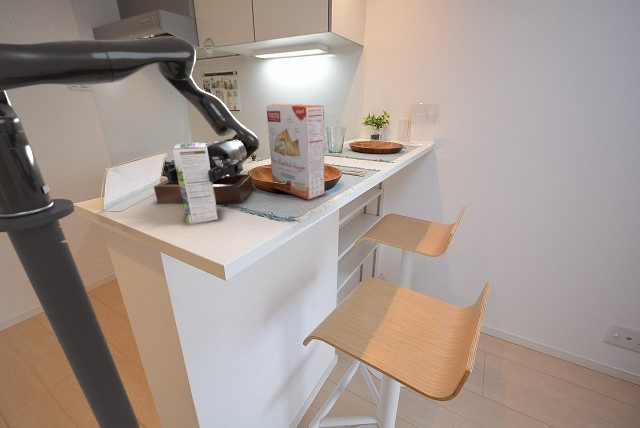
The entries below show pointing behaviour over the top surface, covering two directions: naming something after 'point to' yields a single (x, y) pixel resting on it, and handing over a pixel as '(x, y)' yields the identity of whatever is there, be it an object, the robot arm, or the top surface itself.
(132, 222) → the top surface
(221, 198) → the wooden serving tray
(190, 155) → the syrup box
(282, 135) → the cracker box
